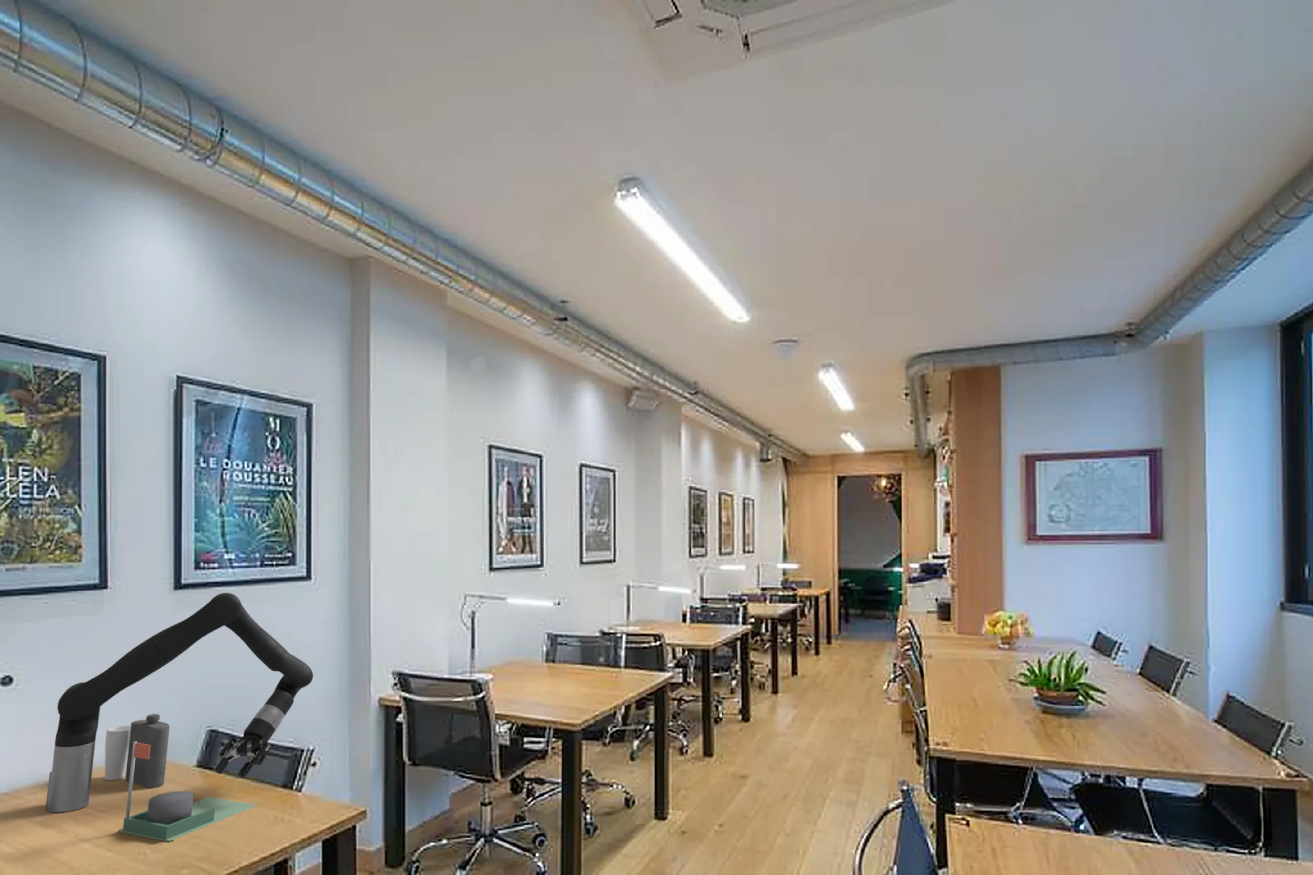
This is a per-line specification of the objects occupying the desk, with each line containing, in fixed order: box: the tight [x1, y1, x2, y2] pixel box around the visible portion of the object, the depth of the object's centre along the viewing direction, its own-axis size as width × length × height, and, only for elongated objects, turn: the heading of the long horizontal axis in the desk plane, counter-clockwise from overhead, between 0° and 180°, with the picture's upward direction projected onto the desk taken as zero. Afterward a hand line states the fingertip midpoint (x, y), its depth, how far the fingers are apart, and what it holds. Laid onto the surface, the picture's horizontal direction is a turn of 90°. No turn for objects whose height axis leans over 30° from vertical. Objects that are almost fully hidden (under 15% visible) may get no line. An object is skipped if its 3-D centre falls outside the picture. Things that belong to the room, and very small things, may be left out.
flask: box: [124, 713, 170, 789], centre depth 238 cm, size 15×6×20 cm, turn 63°
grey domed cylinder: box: [147, 791, 194, 825], centre depth 204 cm, size 10×10×7 cm
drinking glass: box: [103, 725, 131, 781], centre depth 241 cm, size 7×7×15 cm
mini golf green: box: [118, 741, 258, 843], centre depth 211 cm, size 18×27×22 cm, turn 161°
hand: (228, 774), depth 221 cm, fingers open, 8 cm apart
